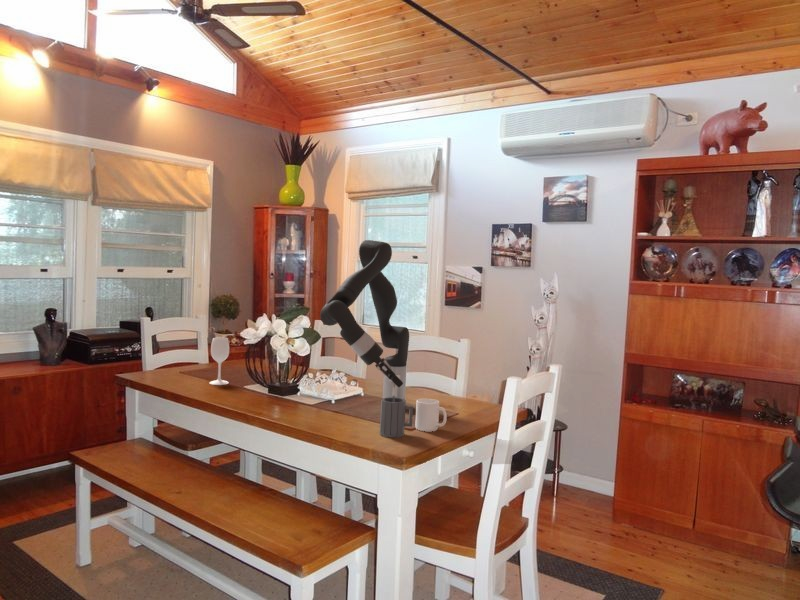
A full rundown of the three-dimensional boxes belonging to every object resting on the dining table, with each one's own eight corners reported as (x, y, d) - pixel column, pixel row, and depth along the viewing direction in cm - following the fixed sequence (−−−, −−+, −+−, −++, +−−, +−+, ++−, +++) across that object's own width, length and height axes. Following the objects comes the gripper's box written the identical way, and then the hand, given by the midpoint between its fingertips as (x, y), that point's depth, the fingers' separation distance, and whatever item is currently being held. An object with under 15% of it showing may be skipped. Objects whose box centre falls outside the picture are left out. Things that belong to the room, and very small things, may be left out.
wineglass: (208, 385, 266) (209, 339, 265) (209, 381, 274) (211, 336, 273) (228, 385, 268) (229, 339, 267) (229, 381, 276) (230, 337, 275)
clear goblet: (384, 406, 204) (386, 373, 204) (399, 406, 205) (401, 373, 205) (386, 410, 199) (387, 376, 198) (402, 410, 200) (403, 376, 199)
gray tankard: (378, 430, 206) (380, 397, 206) (409, 430, 208) (411, 397, 207) (381, 437, 198) (382, 402, 197) (413, 437, 200) (415, 403, 199)
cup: (422, 424, 218) (423, 397, 217) (451, 430, 211) (452, 402, 211) (410, 428, 211) (412, 401, 210) (440, 435, 204) (441, 406, 204)
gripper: (376, 343, 193) (411, 380, 195) (372, 338, 207) (405, 372, 209) (360, 359, 192) (395, 396, 195) (356, 352, 206) (389, 387, 209)
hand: (400, 384), depth 202 cm, fingers closed on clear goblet, 3 cm apart
